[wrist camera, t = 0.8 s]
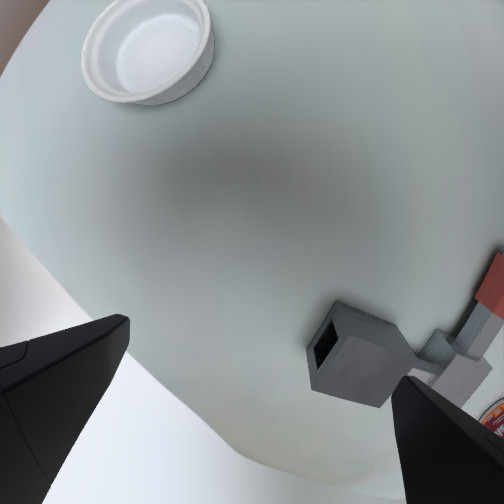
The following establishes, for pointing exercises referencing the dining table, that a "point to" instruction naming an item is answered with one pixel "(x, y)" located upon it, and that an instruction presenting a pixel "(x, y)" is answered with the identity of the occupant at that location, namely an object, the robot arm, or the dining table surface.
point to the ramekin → (148, 50)
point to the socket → (358, 357)
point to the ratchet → (465, 344)
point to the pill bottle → (495, 418)
